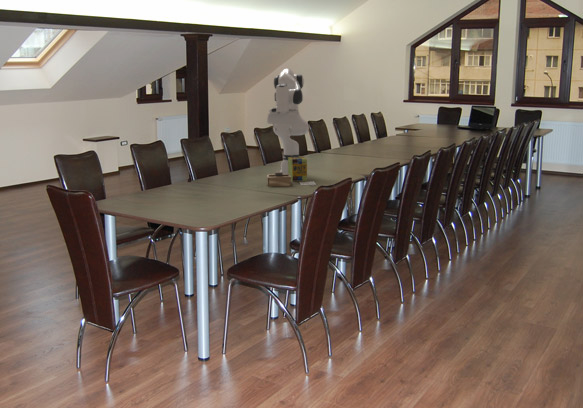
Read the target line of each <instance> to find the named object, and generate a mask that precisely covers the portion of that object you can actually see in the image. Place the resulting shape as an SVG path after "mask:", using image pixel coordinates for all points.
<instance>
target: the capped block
mask: <svg viewBox="0 0 583 408" xmlns="http://www.w3.org/2000/svg"><path fill="white" fill-rule="evenodd" d="M274 174H275V177H277V176H283V173H282V171H281V170H279V171H274Z"/></svg>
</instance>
